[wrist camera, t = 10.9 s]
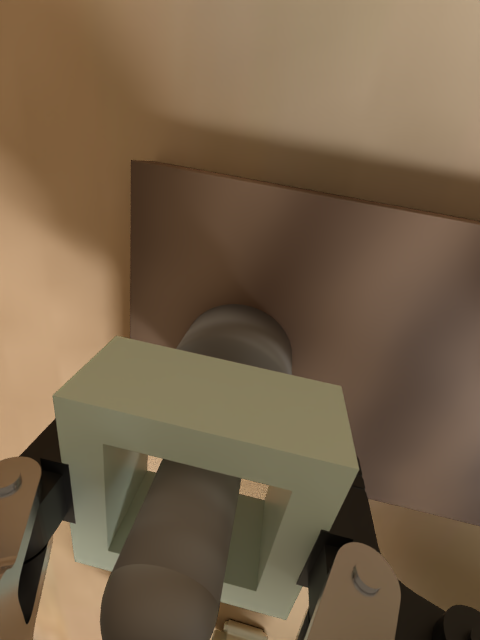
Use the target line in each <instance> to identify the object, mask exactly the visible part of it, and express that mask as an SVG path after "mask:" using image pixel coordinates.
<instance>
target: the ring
mask: <svg viewBox="0 0 480 640" xmlns="http://www.w3.org/2000/svg"><path fill="white" fill-rule="evenodd" d="M53 402H54V410H55V417H56V425H57V432H58V439H59V447H60V454H61V462H62V463H64V464H68V465H69V472H70V480H71V488H72V496H73V505H74V513H75V521H76V524H74V523H71V522H70V528H71V536H72V543H73V551H74V558H75V562H79V563H82V564H86V565H89V566H93V567H97V568H100V569H104V570H107V571H111V572H112V570H113V568H114V566H115V563H116V561H117V559H118V557H119V555H120V552H121V550H122V548H123V546H124V544H125V541H126V539H127V537H128V535H129V533H130V530H131V528H132V526H133V524H134V521H135V519H136V517H137V515H138V513H139V510H140V508H141V506H142V504H143V502H144V499H145V497H146V495H147V493H148V491H149V488H150V486H151V484H152V482H153V479H154V477H155V475H156V473H155V472H151V471H147V460H148V455H150V456H154V457H158V458H162V459H166V460H170V461H174V462H178V463H182V464H186V465H190V466H194V467H198V468H202V469H206V470H210V471H214V472H218V473H222V474H226V475H230V476H234V477H238V478H242V479H246V480H250V481H254V482H258V483H262V484H266V485H269V487H268V491H267V494H266V497H265V500H261V499H257V498H253V497H249V496H245V495H241V494H239V495H238V501H237V506H236V512H235V518H234V524H233V530H232V535H231V541H230V547H229V553H228V559H227V565H226V570H225V576H224V582H223V588H222V594H221V600H220V602H223V603H226V604H230V605H233V606H237V607H241V608H244V609H248V610H251V611H255V612H259V613H262V614H266V615H269V616H273V617H276V618H280V619H284V620H286V619H287V617H288V615H289V613H290V611H291V609H292V607H293V605H294V603H295V601H296V599H297V597H298V595H299V593H300V591H301V588H302V586H300V585H296V583H297V581H298V579H299V576H300V574H301V572H302V570H303V568H304V566H305V563H306V561H307V559H308V557H309V555H310V553H311V551H312V548H313V546H314V544H315V542H316V540H317V538H318V535H319V533H320V531H321V529H322V530H326V531H330V529H331V527H332V525H333V523H334V520H335V518H336V516H337V514H338V512H339V510H340V508H341V506H342V504H343V502H344V500H345V498H346V496H347V494H348V492H349V490H350V487H351V485H352V483H353V481H354V479H355V477H356V475H357V473H358V471H359V466H358V461H357V457H356V452H355V447H354V443H353V438H352V433H351V429H350V424H349V419H348V415H347V410H346V405H345V401H344V396H343V391H342V387H341V386H339V385H334V384H330V383H325V382H321V381H316V380H312V379H307V378H303V377H299V376H294V375H290V374H285V373H281V372H276V371H272V370H267V369H263V368H258V367H254V366H250V365H245V364H241V363H236V362H232V361H227V360H223V359H218V358H214V357H210V356H205V355H201V354H196V353H192V352H187V351H183V350H178V349H174V348H169V347H165V346H161V345H156V344H152V343H147V342H143V341H138V340H134V339H129V338H125V337H120V336H115V337H114V338H113V339H112V340H111V341H110V342H109V343H108V344H107V345H106V346H105V347H104V348H103V349H102V350H100V351H99V352H98V353H97V354H96V355H95V356H94V357H93V358H92V359H91V360H90V361H89V362H88V363H87V364H86V365H84V366H83V367H82V368H81V369H80V370H79V371H78V372H77V373H76V374H75V375H74V376H73V377H72V378H71V379H70V380H68V381H67V382H66V383H65V384H64V385H63V386H62V387H61V388H60V389H59V390H58V391H57V392H56V393H55V394H54V395H53Z"/></svg>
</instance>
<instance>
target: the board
mask: <svg viewBox="0 0 480 640" xmlns="http://www.w3.org/2000/svg"><path fill="white" fill-rule="evenodd" d="M130 339H134V340H138V341H143V342H147V343H152V344H156V345H161V346H165V347H169V348H174V349H178V350H183V351H187V352H192V353H196V354H201V355H205V356H210V357H214V358H218V359H223V360H227V361H232V362H236V363H241V364H245V365H250V366H254V367H258V368H263V369H267V370H272V371H276V372H281V373H285V374H290V375H294V376H299V377H303V378H307V379H312V380H316V381H321V382H325V383H330V384H334V385H339V386H341V387H342V391H343V396H344V401H345V405H346V410H347V415H348V419H349V424H350V429H351V433H352V438H353V443H354V447H355V452H356V455H357V457H358V458H359V461H360V466H361V470H362V478H363V480H364V484H365V492H366V493H367V498H368V499H372V500H376V501H380V502H384V503H388V504H392V505H396V506H401V507H405V508H409V509H413V510H417V511H421V512H425V513H429V514H433V515H437V516H441V517H445V518H449V519H453V520H457V521H461V522H465V523H469V524H473V525H478V526H480V221H475V220H470V219H464V218H459V217H453V216H448V215H442V214H437V213H432V212H426V211H421V210H415V209H410V208H404V207H399V206H394V205H388V204H383V203H377V202H372V201H366V200H361V199H355V198H350V197H345V196H339V195H334V194H328V193H323V192H317V191H312V190H307V189H301V188H296V187H290V186H285V185H279V184H274V183H269V182H263V181H258V180H252V179H247V178H241V177H236V176H231V175H225V174H220V173H214V172H209V171H203V170H198V169H192V168H187V167H182V166H176V165H171V164H165V163H160V162H154V161H136V160H131V284H130ZM240 483H241V478H238V477H234V476H230V475H226V474H222V473H218V472H214V471H210V470H206V469H202V468H198V467H194V466H190V465H186V464H182V463H178V462H174V461H170V460H166V459H163V460H162V462H161V464H160V466H159V468H158V471H157V473H156V475H155V477H154V479H153V482H152V484H151V486H150V488H149V491H148V493H147V495H146V497H145V499H144V502H143V504H142V506H141V508H140V510H139V513H138V515H137V517H136V519H135V521H134V524H133V526H132V528H131V530H130V533H129V535H128V537H127V539H126V541H125V544H124V546H123V548H122V550H121V552H120V555H119V557H118V559H117V561H116V563H115V566H114V568H113V570H112V572H111V574H110V577H109V579H108V582H107V584H106V587H105V591H104V594H103V598H102V604H101V615H100V626H101V635H102V640H210V638H211V635H212V633H213V630H214V627H215V624H216V621H217V616H218V611H219V605H220V600H221V594H222V588H223V582H224V576H225V570H226V565H227V559H228V553H229V547H230V541H231V535H232V530H233V524H234V518H235V512H236V506H237V501H238V495H239V489H240Z"/></svg>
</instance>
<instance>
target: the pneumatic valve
mask: <svg viewBox="0 0 480 640" xmlns="http://www.w3.org/2000/svg"><path fill="white" fill-rule="evenodd" d="M223 630H224V632H223V631H220V630H217V629H216V630H215V631H214V632H213V636H212V640H268V636H267V634H266V633H264V632H263V630H262V629H259V628H256V627H252V626H249V625H246V624H243V623H239V622H236V621H233V620H229V621H228V622H226V621H225V623H224V629H223Z"/></svg>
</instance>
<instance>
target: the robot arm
mask: <svg viewBox="0 0 480 640" xmlns="http://www.w3.org/2000/svg"><path fill="white" fill-rule="evenodd" d="M356 457H357V455H356ZM357 461H358V466H359V471H358V473H357V475H356V477H355V479H354V481H353V483H352V485H351V487H350V490H349V492H348V494H347V496H346V498H345V500H344V502H343V504H342V506H341V508H340V510H339V512H338V514H337V516H336V518H335V520H334V523H333V525H332V527H331V529H330V531H326V530H322V529H321V531H320V533H319V535H318V538H317V540H316V542H315V544H314V546H313V548H312V551H311V553H310V555H309V557H308V559H307V561H306V563H305V566H304V568H303V570H302V572H301V574H300V576H299V579H298V581H297V583H296V585H300V586H304V587H307V588H308V590H309V607H308V609H307V611H306V613H305V615H304V618H303V621H302V623H301V626H300V629H299V631H298V634H297V637H296V639H295V640H480V612H479V611H477V610H475V609H473V608H471V607H468V606H464V605H455V606H452V607H451V608H449V609H448V610H447V611H446V612H445V611H444V610H442V609H440V608H439V607H437V606H435V605H434V604H432V603H431V602H429V601H427V600H426V599H424V598H423V597H421V596H419V595H418V594H416V593H414V592H413V591H411V590H410V589H409V588H407V587H406V586H405V585H404V584H402V583H401V582H400V581H399V580H398V579H397V577H396V574H395V573H394V571H393V569H392V567H391V566H390V564H389V563H388V562H387V561H386V559H385V558H384V557H383V556H382V555H381V553H380V551H379V547H378V543H377V539H376V534H375V530H374V525H373V521H372V516H371V511H370V507H369V502H368V498H367V493H366V492H365V484H364V480H363V478H362V470H361V466H360V461H359V458H358V457H357ZM62 520H63V521H67V522H71V523H74V524H76V521H75V513H74V505H73V496H72V488H71V480H70V472H69V465H68V464H64V463H62V462H61V454H60V447H59V439H58V432H57V425H56V418H55V420H54V421H53V422H52V423H51V424H50V425H49V426H48V427H47V428H46V429H45V430H44V431H43V432H42V433H41V434H40V435H39V436H38V437H37V438H36V439H35V440H34V442H33V443H32V444H31V445H30V446H29V447H28V448H27V449H26V450H25V451H24V452H23V453H22V454H21V455H20V456H19V457H12V458H7V459H4V460H1V461H0V640H33V635H34V627H35V622H36V617H37V612H38V608H39V603H40V599H41V594H42V589H43V585H44V580H45V575H46V571H47V566H48V561H49V557H50V552H51V548H52V543H53V534H54V532H55V531H56V529H57V528H58V526H59V525H60V523H61V522H62Z"/></svg>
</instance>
